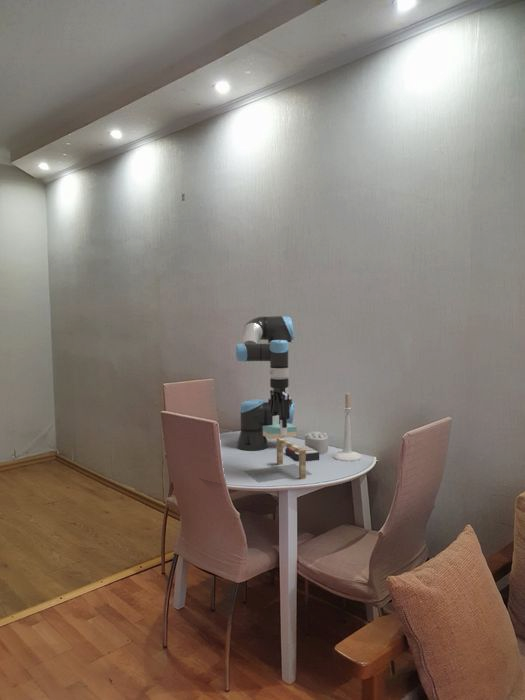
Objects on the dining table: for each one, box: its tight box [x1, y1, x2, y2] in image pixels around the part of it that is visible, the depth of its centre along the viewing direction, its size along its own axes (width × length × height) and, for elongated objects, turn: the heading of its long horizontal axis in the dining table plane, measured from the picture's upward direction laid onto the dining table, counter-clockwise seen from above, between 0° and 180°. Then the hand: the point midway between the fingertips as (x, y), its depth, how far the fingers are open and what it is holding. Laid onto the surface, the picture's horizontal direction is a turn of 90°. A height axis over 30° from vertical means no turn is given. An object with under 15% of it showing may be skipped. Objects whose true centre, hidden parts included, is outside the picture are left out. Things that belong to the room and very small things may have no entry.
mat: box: [243, 463, 313, 483], centre depth 217 cm, size 16×24×1 cm, turn 114°
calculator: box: [285, 445, 320, 462], centre depth 242 cm, size 11×4×15 cm
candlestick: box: [332, 392, 363, 462], centre depth 239 cm, size 13×13×30 cm
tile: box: [263, 423, 297, 440], centre depth 216 cm, size 7×12×4 cm, turn 112°
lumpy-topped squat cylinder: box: [304, 430, 329, 455], centre depth 252 cm, size 10×13×9 cm
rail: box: [276, 438, 307, 480], centre depth 219 cm, size 23×2×12 cm, turn 24°
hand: (279, 433), depth 216 cm, fingers closed on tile, 7 cm apart
